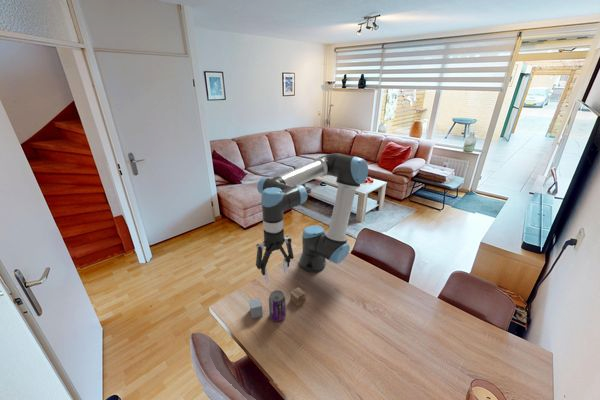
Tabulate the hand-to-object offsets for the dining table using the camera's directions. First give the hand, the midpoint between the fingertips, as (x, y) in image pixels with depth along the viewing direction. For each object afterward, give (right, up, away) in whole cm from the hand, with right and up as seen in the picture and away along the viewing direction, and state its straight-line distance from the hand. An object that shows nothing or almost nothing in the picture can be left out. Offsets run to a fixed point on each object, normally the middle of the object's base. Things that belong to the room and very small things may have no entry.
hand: (275, 276), depth 105 cm
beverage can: (0, -21, +9) cm, 22 cm away
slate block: (-10, -20, +11) cm, 24 cm away
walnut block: (+9, -17, +17) cm, 26 cm away
